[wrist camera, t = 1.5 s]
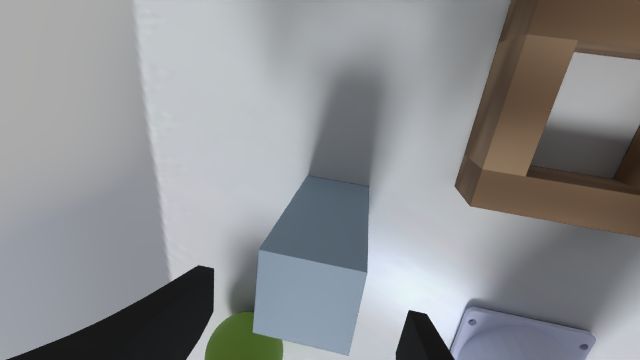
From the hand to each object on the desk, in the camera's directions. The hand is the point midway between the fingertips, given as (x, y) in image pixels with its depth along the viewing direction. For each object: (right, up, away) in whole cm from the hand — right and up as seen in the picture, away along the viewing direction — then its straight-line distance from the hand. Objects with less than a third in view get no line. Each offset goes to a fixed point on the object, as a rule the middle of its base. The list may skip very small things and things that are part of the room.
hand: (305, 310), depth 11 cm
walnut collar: (+14, +8, +5) cm, 17 cm away
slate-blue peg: (+1, +3, +9) cm, 10 cm away
